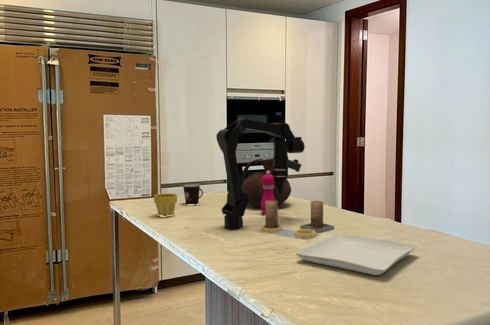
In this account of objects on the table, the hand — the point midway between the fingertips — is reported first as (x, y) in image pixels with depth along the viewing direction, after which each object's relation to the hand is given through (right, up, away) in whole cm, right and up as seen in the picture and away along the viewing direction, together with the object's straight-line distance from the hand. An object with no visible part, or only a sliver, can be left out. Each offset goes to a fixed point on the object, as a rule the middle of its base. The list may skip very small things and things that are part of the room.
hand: (280, 191), depth 178 cm
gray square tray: (+13, -15, -15) cm, 24 cm away
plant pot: (-51, -13, +20) cm, 56 cm away
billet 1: (-4, -14, -16) cm, 21 cm away
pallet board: (+1, -15, -20) cm, 25 cm away
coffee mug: (-42, -10, +45) cm, 62 cm away
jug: (-4, -10, +39) cm, 40 cm away
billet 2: (+13, -14, -15) cm, 24 cm away
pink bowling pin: (-4, -12, +19) cm, 23 cm away
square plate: (+19, -18, -47) cm, 54 cm away
